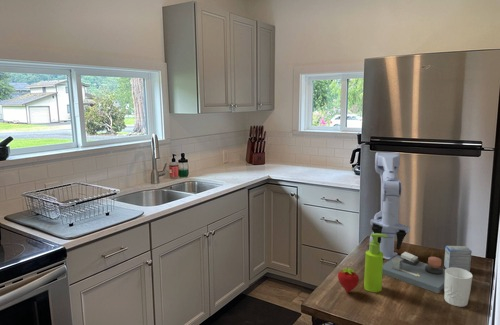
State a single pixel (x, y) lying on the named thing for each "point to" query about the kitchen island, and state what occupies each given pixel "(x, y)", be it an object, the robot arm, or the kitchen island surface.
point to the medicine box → (457, 257)
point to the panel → (417, 274)
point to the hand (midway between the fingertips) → (388, 246)
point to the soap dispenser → (374, 265)
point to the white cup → (457, 286)
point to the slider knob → (397, 263)
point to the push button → (434, 262)
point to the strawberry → (348, 279)
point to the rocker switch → (409, 257)
